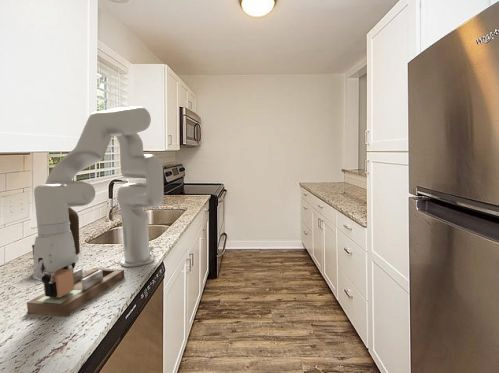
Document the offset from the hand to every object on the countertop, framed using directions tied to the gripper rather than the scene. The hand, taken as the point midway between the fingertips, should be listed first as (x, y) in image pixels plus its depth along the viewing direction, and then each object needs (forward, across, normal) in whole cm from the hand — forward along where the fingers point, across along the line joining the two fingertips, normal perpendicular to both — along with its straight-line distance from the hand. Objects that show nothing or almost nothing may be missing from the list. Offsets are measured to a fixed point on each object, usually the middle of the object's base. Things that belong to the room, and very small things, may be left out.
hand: (59, 291), depth 87 cm
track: (+4, -8, 0) cm, 9 cm away
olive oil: (+5, -43, -37) cm, 57 cm away
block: (0, 0, 0) cm, 0 cm away
